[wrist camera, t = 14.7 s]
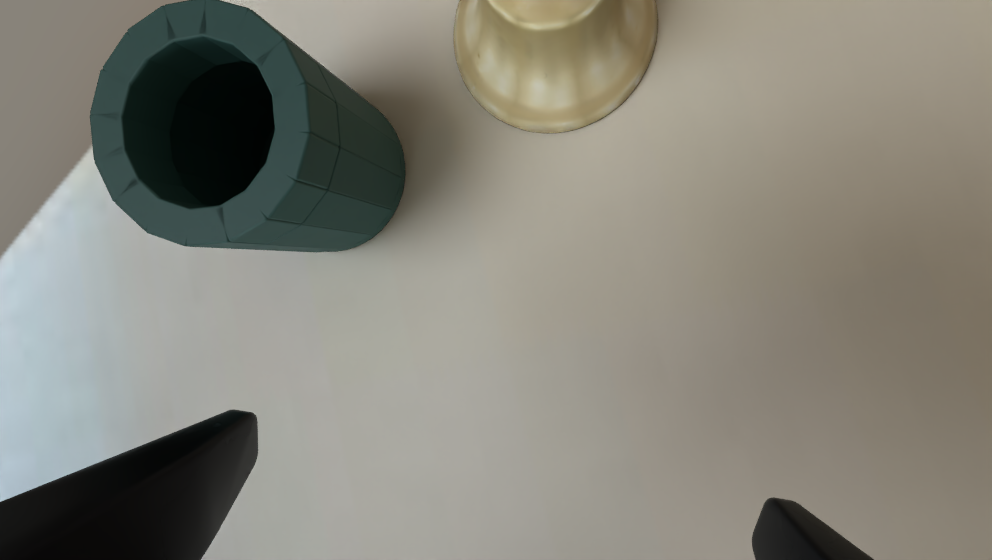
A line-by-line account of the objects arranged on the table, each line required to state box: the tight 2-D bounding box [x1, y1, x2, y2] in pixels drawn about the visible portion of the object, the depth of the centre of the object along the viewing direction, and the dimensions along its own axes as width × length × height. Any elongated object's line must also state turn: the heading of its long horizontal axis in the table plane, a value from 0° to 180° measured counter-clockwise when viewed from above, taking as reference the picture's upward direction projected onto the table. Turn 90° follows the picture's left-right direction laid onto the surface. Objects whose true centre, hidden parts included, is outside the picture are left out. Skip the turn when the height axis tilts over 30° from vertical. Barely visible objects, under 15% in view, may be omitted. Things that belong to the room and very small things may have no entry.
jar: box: [90, 0, 405, 252], centre depth 18 cm, size 7×7×8 cm
